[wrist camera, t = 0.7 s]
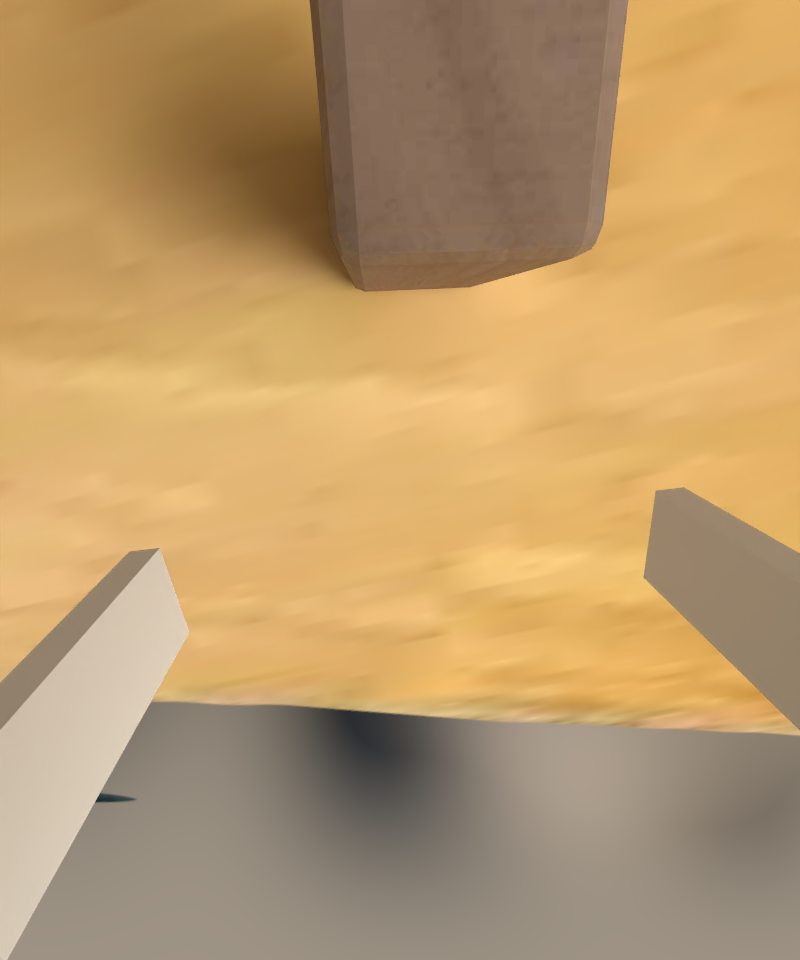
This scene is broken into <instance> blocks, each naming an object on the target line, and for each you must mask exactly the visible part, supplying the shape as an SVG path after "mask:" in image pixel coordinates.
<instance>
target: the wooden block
mask: <svg viewBox="0 0 800 960" xmlns="http://www.w3.org/2000/svg"><path fill="white" fill-rule="evenodd" d="M627 6H628V0H310V8H311V19H312V31H313V42H314V54H315V65H316V77H317V88H318V99H319V111H320V122H321V134H322V145H323V157H324V168H325V180H326V191H327V203H328V214H329V225H330V237H331V239H332V241H333V243H334V246H335V248H336V250H337V252H338V254H339V256H340V259H341V261H342V262H343V264H344V266H345V268H346V270H347V272H348V274H349V276H350V278H351V280H352V282H353V284H354V286H355V287H356V288H358V289H360V290H363V291H365V292H366V291H390V290H414V289H438V288H462V287H472V286H475V285H479V284H483V283H486V282H490V281H493V280H497V279H500V278H504V277H508V276H511V275H515V274H518V273H522V272H525V271H529V270H533V269H536V268H540V267H543V266H547V265H550V264H554V263H558V262H561V261H565V260H568V259H572V258H574V257H576V256H578V255H580V254H582V253H584V252H586V251H588V250H590V249H592V247H593V246H594V244H595V243H596V241H597V238H598V235H599V233H600V230H601V228H602V225H603V219H604V210H605V202H606V193H607V184H608V175H609V166H610V157H611V148H612V139H613V130H614V121H615V113H616V104H617V95H618V86H619V77H620V68H621V59H622V50H623V41H624V32H625V24H626V15H627Z"/></svg>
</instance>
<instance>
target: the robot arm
mask: <svg viewBox="0 0 800 960" xmlns="http://www.w3.org/2000/svg"><path fill="white" fill-rule="evenodd" d="M644 578H645V579H646V580H647V581H648V582H649V583H650V584H651V585H652V586H653V587H654V588H655V589H656V590H657V591H658V592H659V593H660V594H661V595H662V596H663V597H664V598H665V599H666V600H667V601H668V602H669V603H670V604H671V605H672V606H673V607H674V608H675V609H676V610H677V611H678V612H679V613H680V614H681V615H682V616H684V617H685V618H686V619H687V620H688V621H689V622H690V623H691V624H692V625H693V626H694V627H695V628H696V629H697V630H698V631H699V632H700V633H701V634H702V635H703V636H704V637H705V638H706V639H707V640H708V641H709V642H710V643H711V644H712V645H713V646H714V647H715V648H716V649H717V650H718V651H719V652H720V653H721V654H722V655H723V656H724V657H725V658H726V659H727V660H728V661H729V662H731V663H732V664H733V665H734V666H735V667H736V668H737V669H738V670H739V671H740V672H741V673H742V674H743V675H744V676H745V677H746V678H747V679H748V680H749V681H750V682H751V683H752V684H753V685H754V686H755V687H756V688H757V689H758V690H759V691H760V692H761V693H762V694H763V695H764V696H765V697H766V698H767V699H768V700H769V701H770V702H771V703H772V704H773V705H774V706H775V707H776V708H778V709H779V710H780V711H781V712H782V713H783V714H784V715H785V716H786V717H787V718H788V719H789V720H790V721H791V722H792V723H793V724H794V725H795V726H796V727H797V728H798V729H799V730H800V553H798V552H796V551H795V550H793V549H791V548H789V547H787V546H786V545H784V544H782V543H780V542H779V541H777V540H775V539H773V538H772V537H770V536H768V535H766V534H765V533H763V532H761V531H759V530H758V529H756V528H754V527H752V526H751V525H749V524H747V523H745V522H743V521H742V520H740V519H738V518H736V517H735V516H733V515H731V514H729V513H728V512H726V511H724V510H722V509H721V508H719V507H717V506H715V505H714V504H712V503H710V502H708V501H706V500H705V499H703V498H701V497H699V496H698V495H696V494H694V493H692V492H691V491H689V490H687V489H685V488H676V489H667V490H659V491H656V493H655V500H654V507H653V514H652V521H651V528H650V536H649V543H648V550H647V557H646V564H645V571H644ZM188 634H189V630H188V627H187V624H186V622H185V619H184V616H183V613H182V610H181V607H180V604H179V602H178V599H177V596H176V593H175V590H174V587H173V584H172V582H171V579H170V576H169V573H168V570H167V567H166V565H165V562H164V559H163V556H162V553H161V550H160V548H157V549H148V550H139V551H131V552H129V553H128V554H127V555H126V556H125V557H124V558H123V559H122V560H121V561H120V562H119V563H118V564H117V565H116V566H115V567H114V568H113V569H112V570H111V571H110V572H109V573H108V574H107V575H106V576H105V577H104V578H103V579H102V580H101V581H100V582H99V583H98V584H97V585H96V586H95V587H94V588H93V589H92V590H91V591H90V592H89V593H88V595H87V596H86V597H85V598H84V599H83V600H82V601H81V602H80V603H79V604H78V605H77V606H76V607H75V608H74V609H73V610H72V611H71V612H70V613H69V614H68V615H67V616H66V617H65V618H64V619H63V620H62V621H61V622H60V623H59V624H58V625H57V626H56V627H55V628H54V629H53V630H52V631H51V632H50V633H49V634H48V635H47V636H46V637H45V638H44V639H43V640H42V641H41V642H40V643H39V644H38V645H37V646H36V647H35V648H34V649H33V650H32V651H31V652H30V653H29V654H28V655H27V656H26V657H25V658H24V659H23V660H22V661H21V662H20V663H19V664H18V665H17V666H16V667H15V668H14V669H13V670H12V671H11V673H10V674H9V675H8V676H7V677H6V678H5V679H4V680H3V681H2V682H1V683H0V960H7V959H8V957H9V955H10V954H11V952H12V950H13V948H14V946H15V945H16V943H17V941H18V939H19V937H20V936H21V934H22V932H23V930H24V928H25V927H26V925H27V923H28V921H29V919H30V918H31V916H32V914H33V912H34V910H35V909H36V907H37V905H38V903H39V901H40V900H41V898H42V896H43V894H44V892H45V891H46V889H47V887H48V885H49V883H50V882H51V880H52V878H53V876H54V874H55V873H56V871H57V869H58V867H59V865H60V864H61V862H62V860H63V858H64V857H65V855H66V853H67V851H68V849H69V848H70V846H71V844H72V842H73V840H74V839H75V837H76V835H77V833H78V831H79V830H80V828H81V826H82V824H83V822H84V821H85V819H86V817H87V815H88V813H89V812H90V810H91V808H92V806H93V804H94V803H95V801H96V799H97V797H98V795H99V794H100V792H101V790H102V788H103V786H104V785H105V783H106V781H107V779H108V778H109V776H110V774H111V772H112V770H113V768H114V767H115V765H116V763H117V761H118V759H119V758H120V756H121V754H122V752H123V751H124V749H125V747H126V745H127V743H128V741H129V740H130V738H131V736H132V734H133V733H134V731H135V729H136V727H137V725H138V724H139V722H140V720H141V718H142V716H143V714H144V713H145V711H146V709H147V707H148V706H149V704H150V702H151V700H152V698H153V697H154V695H155V693H156V691H157V690H158V688H159V686H160V684H161V682H162V681H163V679H164V677H165V675H166V673H167V672H168V670H169V668H170V666H171V664H172V663H173V661H174V659H175V657H176V655H177V654H178V652H179V650H180V648H181V646H182V645H183V643H184V641H185V639H186V637H187V636H188Z"/></svg>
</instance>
